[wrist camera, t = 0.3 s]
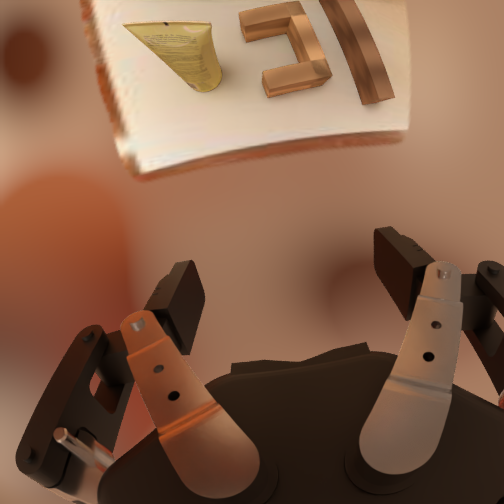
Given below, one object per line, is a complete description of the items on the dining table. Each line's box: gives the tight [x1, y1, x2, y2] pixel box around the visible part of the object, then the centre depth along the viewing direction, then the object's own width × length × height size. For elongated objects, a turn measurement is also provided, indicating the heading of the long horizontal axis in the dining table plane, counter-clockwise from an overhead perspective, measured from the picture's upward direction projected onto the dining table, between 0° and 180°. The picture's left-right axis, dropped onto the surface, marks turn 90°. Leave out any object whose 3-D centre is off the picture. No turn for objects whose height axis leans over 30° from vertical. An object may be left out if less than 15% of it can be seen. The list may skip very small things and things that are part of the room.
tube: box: [122, 21, 222, 92], centre depth 23 cm, size 6×5×20 cm
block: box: [239, 1, 332, 98], centre depth 28 cm, size 12×8×6 cm, turn 18°
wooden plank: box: [319, 0, 395, 105], centre depth 26 cm, size 20×2×6 cm, turn 18°
